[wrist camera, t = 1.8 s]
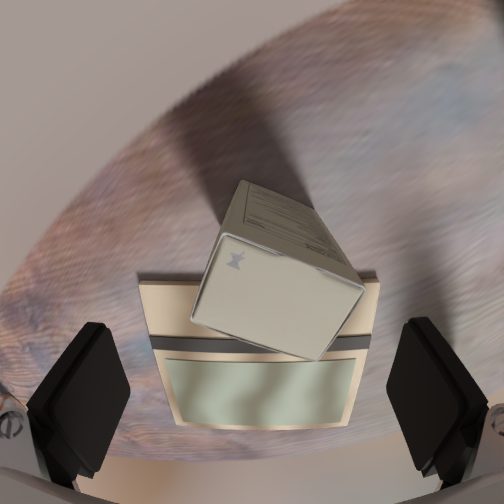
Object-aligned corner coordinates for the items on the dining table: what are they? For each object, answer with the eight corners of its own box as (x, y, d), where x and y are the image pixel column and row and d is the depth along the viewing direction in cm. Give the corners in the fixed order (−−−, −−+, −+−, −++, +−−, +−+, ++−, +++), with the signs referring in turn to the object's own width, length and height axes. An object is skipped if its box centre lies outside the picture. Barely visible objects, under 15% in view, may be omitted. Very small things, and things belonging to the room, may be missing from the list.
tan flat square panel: (377, 278, 24) (381, 283, 24) (345, 420, 31) (347, 426, 30) (141, 280, 26) (137, 285, 25) (177, 420, 32) (176, 426, 32)
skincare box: (219, 229, 24) (178, 320, 12) (241, 177, 22) (213, 225, 11) (296, 260, 24) (318, 368, 13) (321, 211, 23) (371, 290, 11)
